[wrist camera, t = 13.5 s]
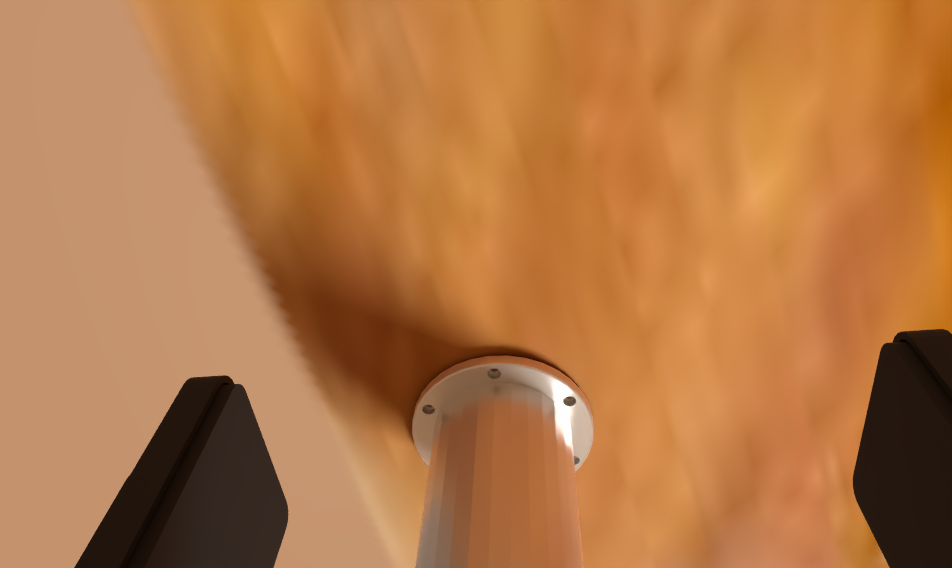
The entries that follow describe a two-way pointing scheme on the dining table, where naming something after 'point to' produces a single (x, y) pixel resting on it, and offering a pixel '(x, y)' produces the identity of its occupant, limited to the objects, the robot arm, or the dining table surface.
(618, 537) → the dining table surface
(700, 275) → the dining table surface
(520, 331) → the dining table surface
